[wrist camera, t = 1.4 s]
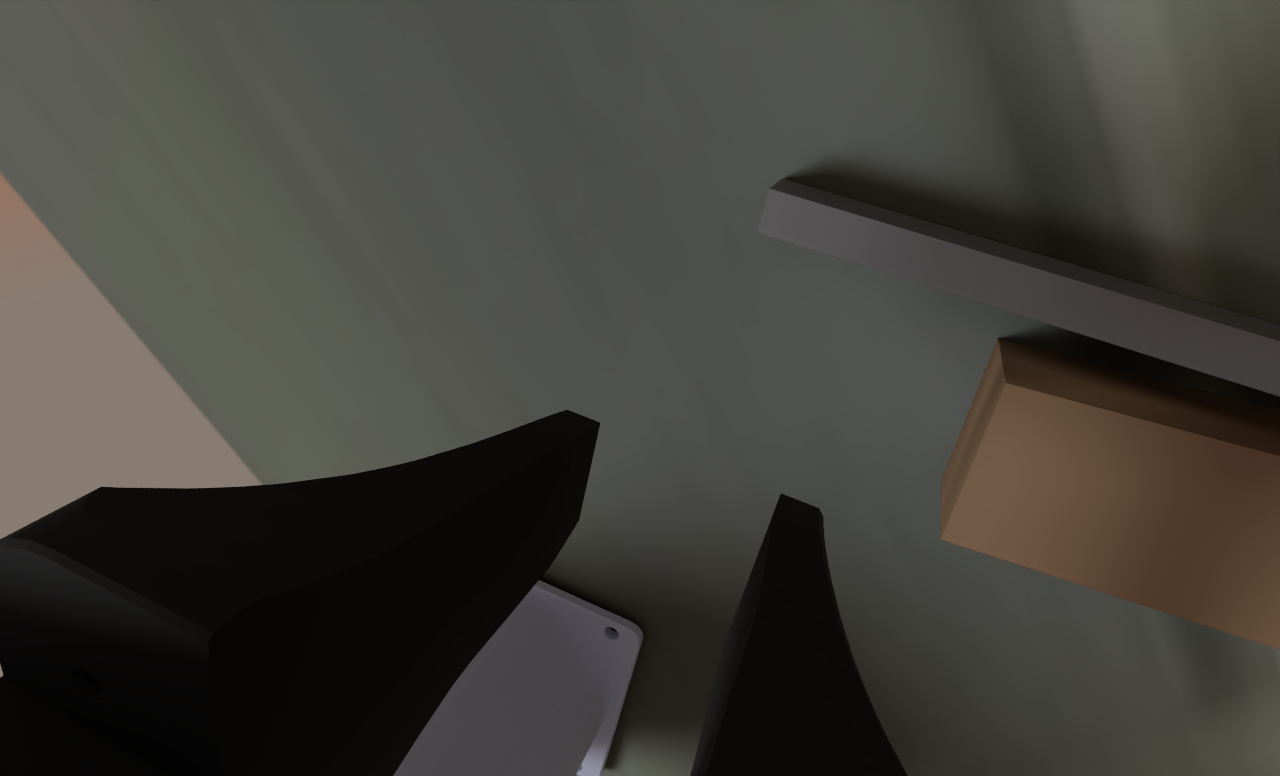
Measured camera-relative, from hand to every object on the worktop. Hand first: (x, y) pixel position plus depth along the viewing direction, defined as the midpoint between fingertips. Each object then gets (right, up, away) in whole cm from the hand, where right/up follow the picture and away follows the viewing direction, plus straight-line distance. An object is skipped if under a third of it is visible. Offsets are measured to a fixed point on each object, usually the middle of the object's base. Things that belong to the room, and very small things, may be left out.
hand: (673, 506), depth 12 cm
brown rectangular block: (+11, 0, +5) cm, 13 cm away
